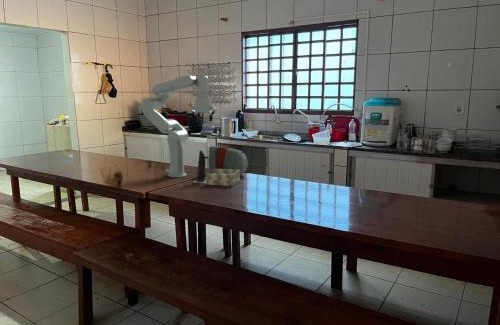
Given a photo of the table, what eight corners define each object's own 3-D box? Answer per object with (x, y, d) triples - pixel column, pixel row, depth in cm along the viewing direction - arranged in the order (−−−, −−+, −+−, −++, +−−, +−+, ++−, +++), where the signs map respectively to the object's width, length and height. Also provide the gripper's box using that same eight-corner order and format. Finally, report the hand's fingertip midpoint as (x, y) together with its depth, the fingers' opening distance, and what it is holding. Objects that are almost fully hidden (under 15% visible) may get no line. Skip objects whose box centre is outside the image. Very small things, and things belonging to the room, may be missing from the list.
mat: (192, 182, 232) (192, 182, 232) (197, 179, 241) (197, 178, 241) (205, 183, 230) (205, 182, 230) (210, 179, 239) (210, 179, 239)
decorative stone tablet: (207, 145, 254) (245, 152, 241) (212, 144, 260) (249, 150, 246) (206, 172, 259) (243, 180, 245) (211, 170, 264) (247, 177, 251)
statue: (195, 180, 237) (193, 150, 234) (205, 179, 240) (204, 149, 236) (197, 182, 231) (196, 151, 227) (208, 181, 234) (207, 150, 230)
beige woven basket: (206, 184, 227) (205, 173, 226) (214, 179, 241) (213, 168, 240) (233, 185, 223) (233, 174, 221) (240, 180, 237) (239, 169, 236)
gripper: (188, 95, 234) (189, 121, 237) (213, 94, 230) (214, 121, 233) (192, 95, 241) (193, 120, 244) (217, 94, 237) (218, 120, 240)
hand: (203, 121), depth 238 cm, fingers open, 9 cm apart
